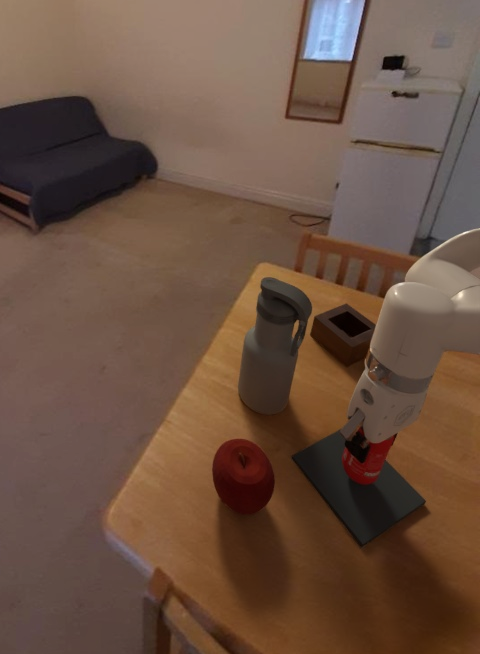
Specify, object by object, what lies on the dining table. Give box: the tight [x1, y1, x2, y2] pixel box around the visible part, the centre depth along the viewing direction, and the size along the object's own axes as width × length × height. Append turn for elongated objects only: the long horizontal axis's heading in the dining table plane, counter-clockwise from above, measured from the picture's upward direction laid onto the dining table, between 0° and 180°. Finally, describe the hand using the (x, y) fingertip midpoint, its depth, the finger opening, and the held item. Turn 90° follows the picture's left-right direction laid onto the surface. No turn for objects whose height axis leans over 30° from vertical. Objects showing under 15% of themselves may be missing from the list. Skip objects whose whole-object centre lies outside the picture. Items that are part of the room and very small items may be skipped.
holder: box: [309, 302, 377, 368], centre depth 92 cm, size 10×10×6 cm
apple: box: [211, 438, 276, 516], centre depth 64 cm, size 10×10×10 cm
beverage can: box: [342, 428, 394, 485], centre depth 64 cm, size 5×5×12 cm
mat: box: [291, 428, 427, 549], centre depth 68 cm, size 14×14×1 cm
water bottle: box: [237, 276, 313, 416], centre depth 76 cm, size 10×10×28 cm
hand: (368, 445), depth 64 cm, fingers closed on beverage can, 5 cm apart
